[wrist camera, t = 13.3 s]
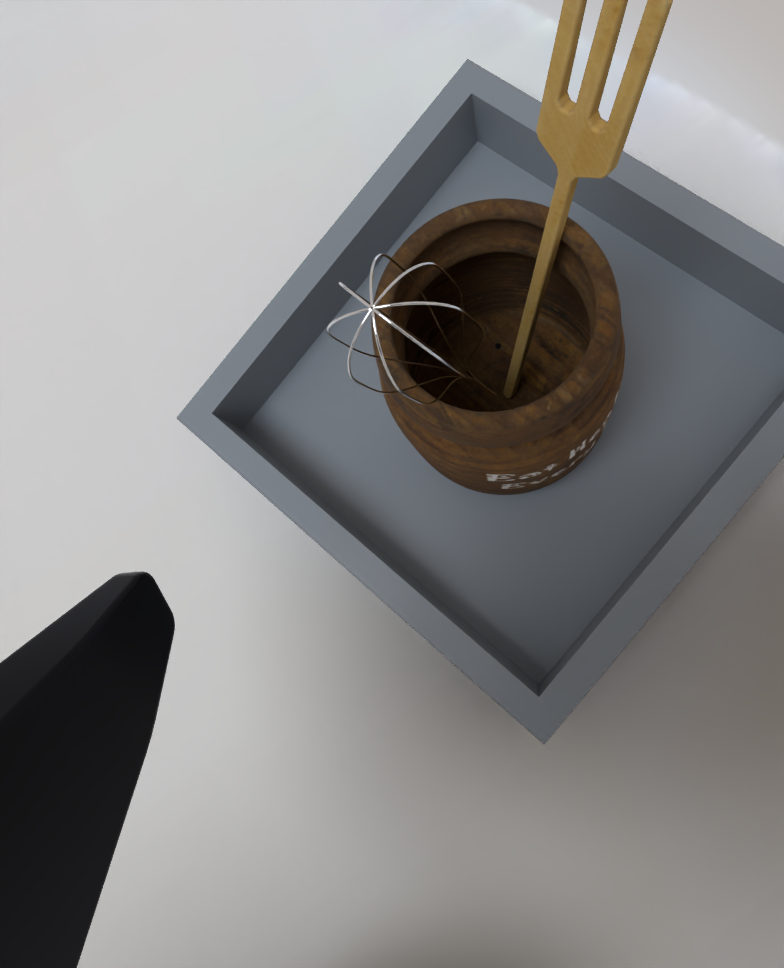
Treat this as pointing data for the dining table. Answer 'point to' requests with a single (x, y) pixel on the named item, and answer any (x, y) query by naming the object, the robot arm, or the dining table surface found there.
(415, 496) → the tray
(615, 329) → the utensil holder
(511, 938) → the dining table surface
